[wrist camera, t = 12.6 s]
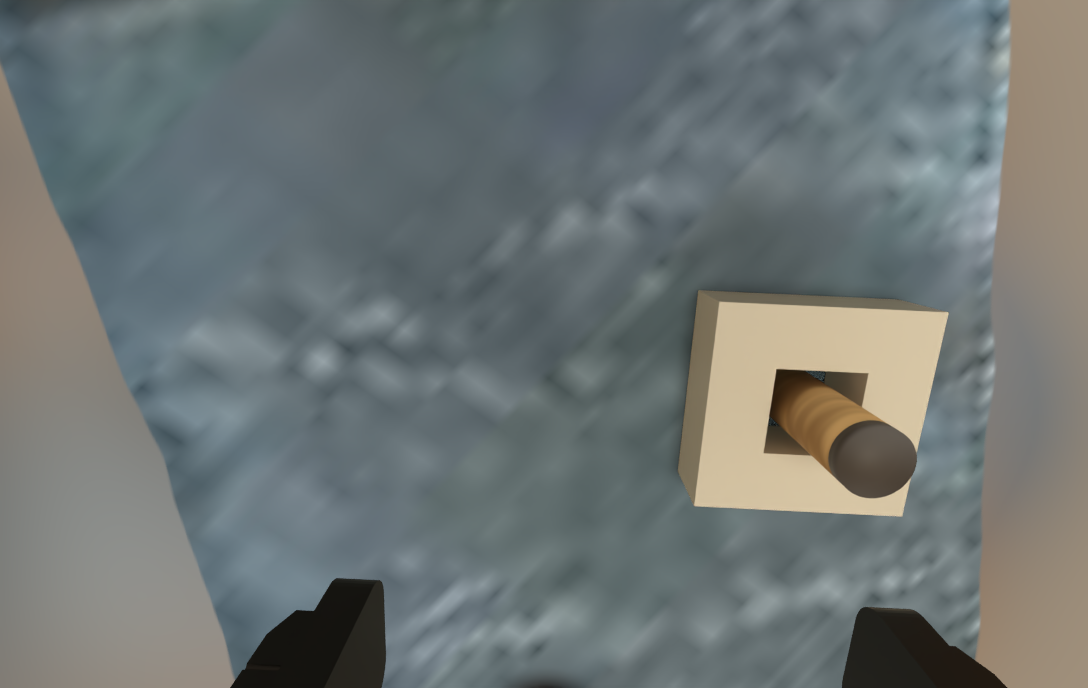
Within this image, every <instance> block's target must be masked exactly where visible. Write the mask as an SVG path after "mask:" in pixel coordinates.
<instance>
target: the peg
mask: <svg viewBox="0 0 1088 688" xmlns="http://www.w3.org/2000/svg"><path fill="white" fill-rule="evenodd" d="M769 416H770V417H771V418H772V419H773V420H774V421H775V422H776V423H778V424H779V425H780V426H781V427H782V428H783V429H784V430H785V431H786V432H787V433H788V434H789V435H790V436H791V437H792V438H793V439H794V440H796V441H797V442H798V443H799V444H800V445H801V446H802V447H803V448H804V449H805V450H806V451H807V452H808V453H809V454H810V455H811V456H812V457H813V458H815V459H816V460H817V461H818V462H819V463H820V464H821V465H822V466H823V467H824V468H825V469H826V470H827V471H828V472H829V473H830V474H831V475H833V476H834V477H835V478H836V479H837V480H838V481H839V482H840V483H841V484H842V485H843V486H844V487H845V488H846V489H847V490H848V491H850V492H851V493H853V494H855V495H857V496H859V497H863V498H881V497H885V496H888V495H891V494H893V493H895V492H896V491H898V490H899V489H901V488H902V487H903V486H904V485H905V484H906V483H907V482H908V481H909V479H910V478H911V476H912V475H913V473H914V470H915V467H916V462H917V454H916V450H915V447H914V445H913V443H912V441H911V440H910V439H909V438H908V437H907V436H906V435H905V434H903V433H902V432H900V431H899V430H897V429H896V428H894V427H892V426H891V425H889V424H888V423H886V422H884V421H883V420H881V419H880V418H878V417H877V416H875V415H873V414H872V413H870V412H869V411H867V410H865V409H864V408H862V407H861V406H859V405H858V404H856V403H854V402H853V401H851V400H850V399H848V398H847V397H845V396H843V395H842V394H840V393H839V392H837V391H835V390H834V389H832V388H831V387H829V386H828V385H826V384H824V383H823V382H821V381H820V380H818V379H816V378H815V377H813V376H812V375H810V374H809V373H807V372H805V371H804V370H789V369H776V375H775V382H774V388H773V395H772V401H771V408H770V414H769Z"/></svg>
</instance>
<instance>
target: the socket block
mask: <svg viewBox="0 0 1088 688" xmlns="http://www.w3.org/2000/svg"><path fill="white" fill-rule="evenodd" d="M948 313H949V312H945V311H941V310H937V309H933V308H929V307H926V306H922V305H918V304H914V303H910V302H906V301H902V300H898V299H877V298H856V297H834V296H812V295H790V294H769V293H747V292H725V291H704V290H698V298H697V306H696V315H695V324H694V333H693V342H692V350H691V359H690V368H689V377H688V386H687V394H686V403H685V412H684V421H683V430H682V439H681V447H680V456H679V465H678V473H679V475H680V477H681V479H682V481H683V483H684V486H685V488H686V490H687V492H688V494H689V496H690V498H691V500H692V503H693V505H694V506H703V507H723V508H743V509H763V510H783V511H803V512H823V513H843V514H863V515H883V516H902V514H903V509H904V505H905V501H906V496H907V492H908V488H909V483H910V479H911V478H910V479H909V481H908V482H907V483H906V484H905V485H904V486H903V487H902V488H901V489H899V490H898V491H896V492H895V493H893V494H891V495H888V496H885V497H881V498H863V497H859V496H857V495H855V494H853V493H851V492H850V491H848V490H847V489H846V488H845V487H844V486H843V485H842V484H841V483H840V482H839V481H838V480H837V479H836V478H835V477H834V476H833V475H831V474H830V473H829V472H828V471H827V470H826V469H825V468H824V467H823V466H822V465H821V464H820V463H819V462H818V461H817V460H816V459H815V458H813V457H812V456H811V455H810V454H809V453H808V452H807V451H806V450H805V449H804V448H803V447H802V446H801V445H800V444H799V443H798V442H797V441H796V440H794V439H793V438H792V437H791V436H790V435H789V434H788V433H787V432H786V431H785V430H784V429H783V428H782V427H781V426H768V421H769V414H770V408H771V401H772V395H773V388H774V382H775V375H776V369H789V370H810V371H826V374H825V380H824V384H826V385H828V386H829V387H831V388H832V389H834V390H835V391H837V392H839V393H840V394H842V395H843V396H845V397H847V398H848V399H850V400H851V401H853V402H854V403H856V404H858V405H859V406H861V407H862V408H864V409H865V410H867V411H869V412H870V413H872V414H873V415H875V416H877V417H878V418H880V419H881V420H883V421H884V422H886V423H888V424H889V425H891V426H892V427H894V428H896V429H897V430H899V431H900V432H902V433H903V434H905V435H906V436H907V437H908V438H909V439H910V440H911V441H912V443H913V445H914V447H915V450H916V453H917V448H918V444H919V440H920V435H921V431H922V427H923V422H924V418H925V413H926V409H927V405H928V400H929V396H930V392H931V387H932V383H933V379H934V374H935V370H936V365H937V361H938V357H939V352H940V348H941V344H942V339H943V335H944V331H945V326H946V322H947V317H948Z"/></svg>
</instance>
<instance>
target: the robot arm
mask: <svg viewBox="0 0 1088 688" xmlns="http://www.w3.org/2000/svg"><path fill="white" fill-rule="evenodd" d="M385 663H386V644H385V614H384V589H383V584H382V582H381V581H380V580H362V579H343V578H336V579H335V580H333V581H332V583H331V584H330V586H329V587H328V589H327V591H326V592H325V594H324V595H323V597H322V599H321V600H320V602H319V604H318V605H317V607H316V609H315V610H314V611H302V610H296V611H295V612H294V613H292V614H291V615H290V616H289V617H287V618H286V619H285V620H284V621H282V622H281V623H280V624H279V625H278V626H276V627H275V628H274V629H273V630H271V631H270V632H269V633H268V634H267V635H266V636H265V638H264V639H263V641H262V642H261V644H260V645H259V646H258V648H257V649H256V651H255V652H254V654H253V655H252V657H251V658H250V660H249V661H248V663H247V666H246V669H245V670H242V671H241V673H240V674H239V676H238V677H237V679H236V680H235V682H234V683H233V685H232V686H231V687H230V688H381V687H382V683H383V678H384V671H385ZM842 688H1007V687H1006V686H1005V685H1004V684H1003V683H1002V682H1001V681H1000V680H999V679H998V678H997V677H996V676H995V674H993V673H992V672H990V671H989V670H988V669H986V668H985V667H983V666H982V665H981V664H979V663H978V662H976V661H975V660H974V659H972V658H971V657H969V656H968V655H967V654H965V653H964V652H963V651H961V650H960V649H958V648H957V647H956V646H949V645H948V644H947V643H946V642H945V641H944V639H943V638H942V637H941V636H940V635H939V634H938V633H937V632H936V631H935V630H934V628H933V627H932V626H931V625H930V624H929V623H928V622H927V621H926V620H925V619H924V617H922V616H921V615H920V614H919V613H918V612H916V611H914V610H910V609H894V608H875V607H864V608H862V609H860V611H859V612H858V614H857V617H856V620H855V625H854V630H853V634H852V639H851V643H850V648H849V653H848V657H847V662H846V666H845V671H844V676H843V681H842Z"/></svg>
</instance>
